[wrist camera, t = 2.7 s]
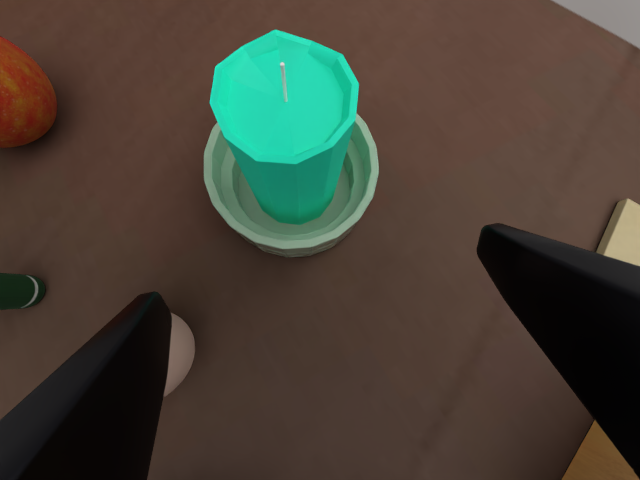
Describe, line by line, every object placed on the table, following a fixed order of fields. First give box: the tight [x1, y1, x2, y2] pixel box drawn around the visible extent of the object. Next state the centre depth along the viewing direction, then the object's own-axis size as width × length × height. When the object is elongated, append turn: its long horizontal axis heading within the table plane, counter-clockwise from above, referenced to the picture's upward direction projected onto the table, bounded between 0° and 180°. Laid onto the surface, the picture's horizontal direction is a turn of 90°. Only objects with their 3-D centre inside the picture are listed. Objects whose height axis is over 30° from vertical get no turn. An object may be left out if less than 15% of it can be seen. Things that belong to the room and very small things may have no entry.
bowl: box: [204, 113, 379, 257], centre depth 20 cm, size 11×11×4 cm
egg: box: [163, 313, 195, 397], centre depth 17 cm, size 5×5×7 cm
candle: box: [210, 30, 359, 225], centre depth 16 cm, size 6×6×12 cm
